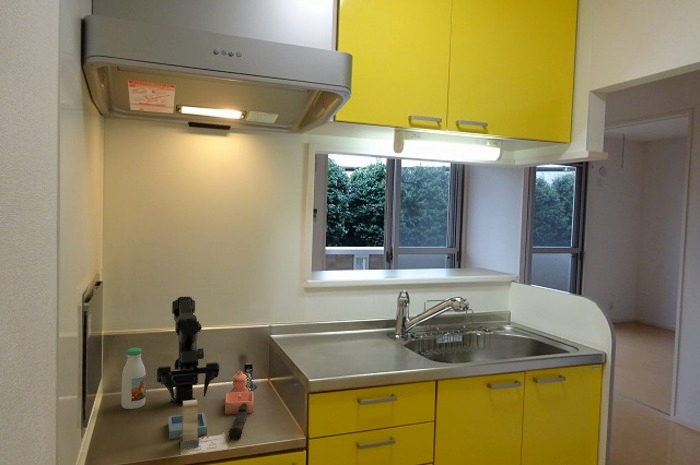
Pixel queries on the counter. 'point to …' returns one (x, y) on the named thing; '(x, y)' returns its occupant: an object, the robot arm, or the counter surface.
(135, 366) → the milk bottle
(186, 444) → the beige pillar on base
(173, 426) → the tray
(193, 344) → the robot arm
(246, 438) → the counter surface
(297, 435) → the counter surface
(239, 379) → the pottery
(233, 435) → the hand tool
